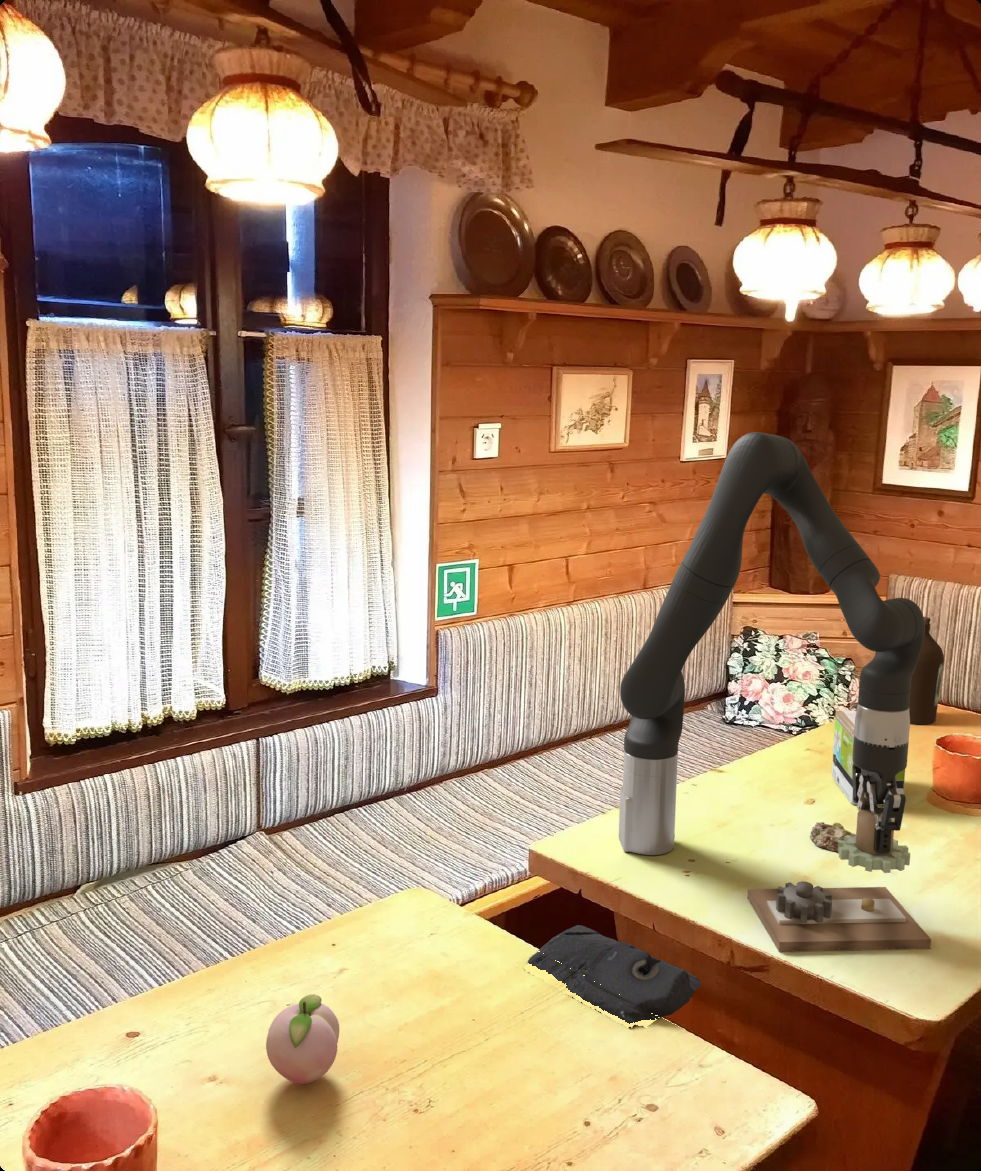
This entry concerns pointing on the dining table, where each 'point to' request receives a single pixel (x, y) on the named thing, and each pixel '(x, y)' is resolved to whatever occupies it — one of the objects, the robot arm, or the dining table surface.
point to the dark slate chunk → (615, 975)
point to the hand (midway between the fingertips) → (873, 843)
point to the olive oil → (926, 681)
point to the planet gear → (871, 847)
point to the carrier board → (835, 919)
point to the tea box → (849, 755)
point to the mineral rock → (828, 835)
